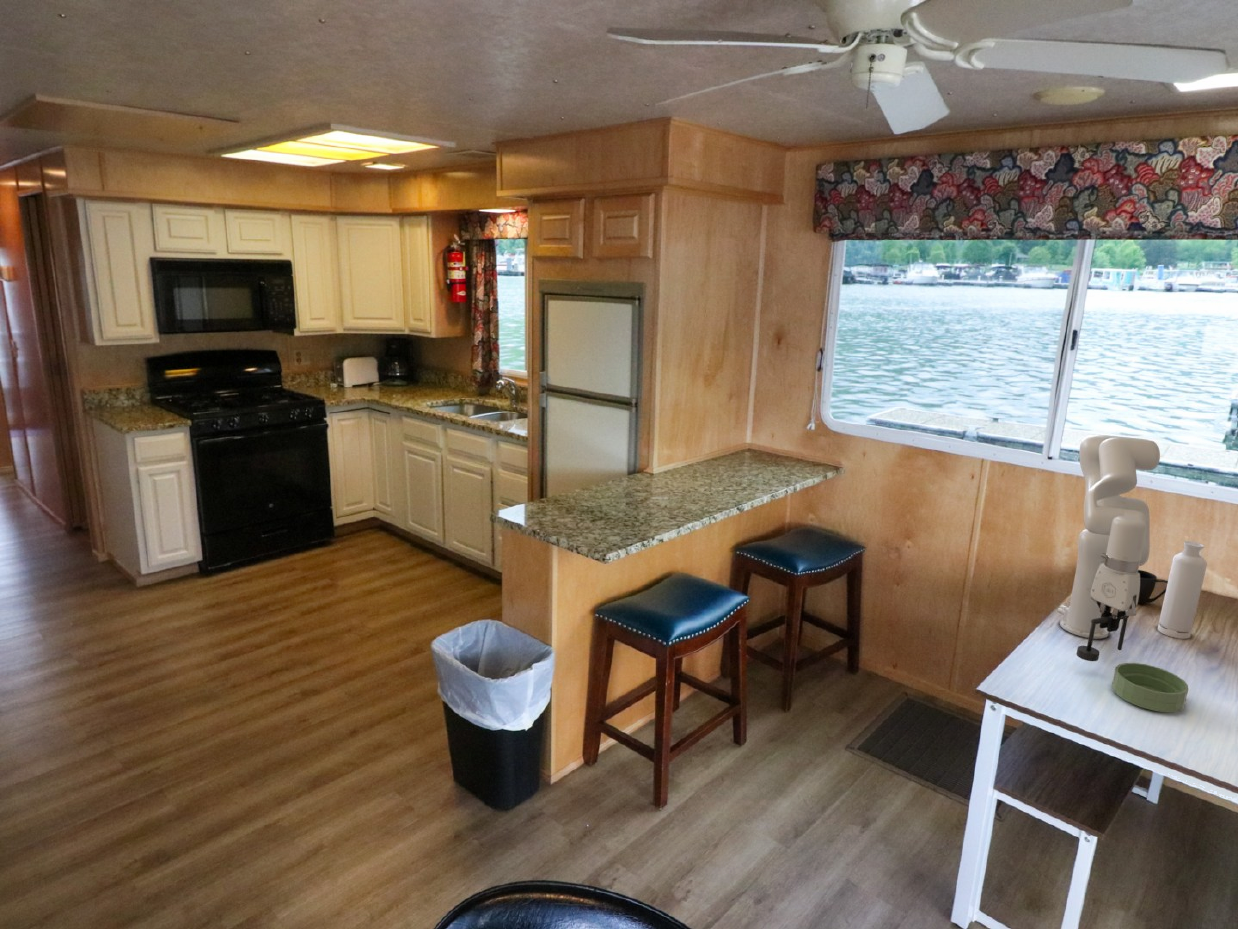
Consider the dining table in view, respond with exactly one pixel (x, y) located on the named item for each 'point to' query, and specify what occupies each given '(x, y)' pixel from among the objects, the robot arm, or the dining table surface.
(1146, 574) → the mug
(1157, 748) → the dining table surface
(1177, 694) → the bowl
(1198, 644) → the dining table surface
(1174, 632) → the bottle
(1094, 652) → the ladle
